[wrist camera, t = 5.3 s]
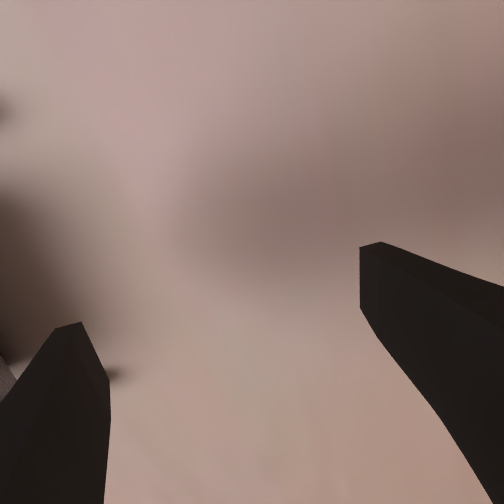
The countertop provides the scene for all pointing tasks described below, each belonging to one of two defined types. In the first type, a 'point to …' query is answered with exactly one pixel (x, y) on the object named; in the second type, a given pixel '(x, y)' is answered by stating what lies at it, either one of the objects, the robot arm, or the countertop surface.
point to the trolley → (5, 379)
